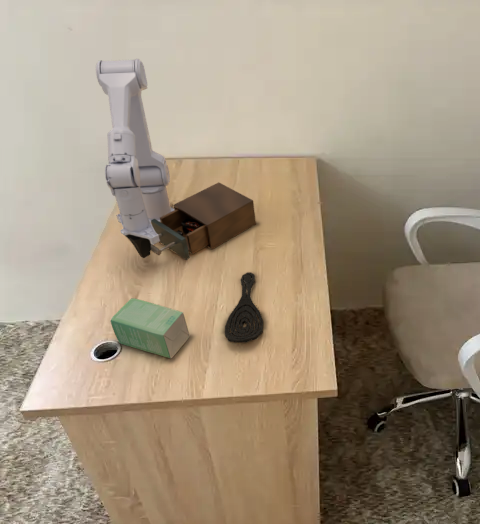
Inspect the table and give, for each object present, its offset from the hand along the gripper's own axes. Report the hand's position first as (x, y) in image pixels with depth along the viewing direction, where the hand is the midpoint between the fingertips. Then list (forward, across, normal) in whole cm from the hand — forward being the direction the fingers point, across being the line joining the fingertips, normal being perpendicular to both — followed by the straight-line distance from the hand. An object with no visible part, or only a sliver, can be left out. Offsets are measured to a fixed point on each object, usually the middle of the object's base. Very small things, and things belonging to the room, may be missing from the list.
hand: (145, 255), depth 142 cm
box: (+3, +23, -14) cm, 27 cm away
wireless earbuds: (+1, 0, +14) cm, 14 cm away
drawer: (+2, 0, +11) cm, 12 cm away
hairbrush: (+3, +31, +5) cm, 32 cm away
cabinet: (+3, 0, +22) cm, 22 cm away
